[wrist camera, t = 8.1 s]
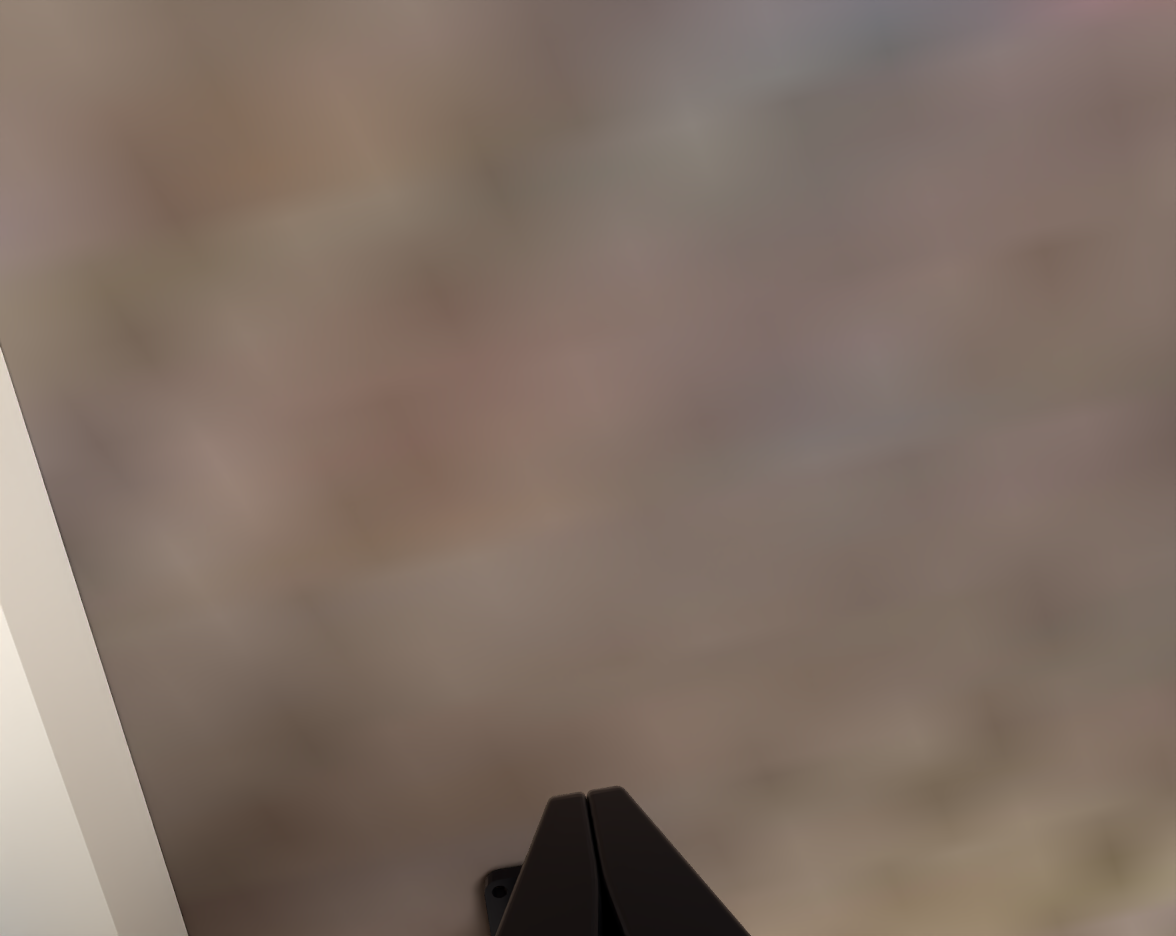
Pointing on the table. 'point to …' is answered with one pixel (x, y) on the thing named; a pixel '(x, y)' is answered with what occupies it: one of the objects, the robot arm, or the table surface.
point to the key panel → (62, 739)
